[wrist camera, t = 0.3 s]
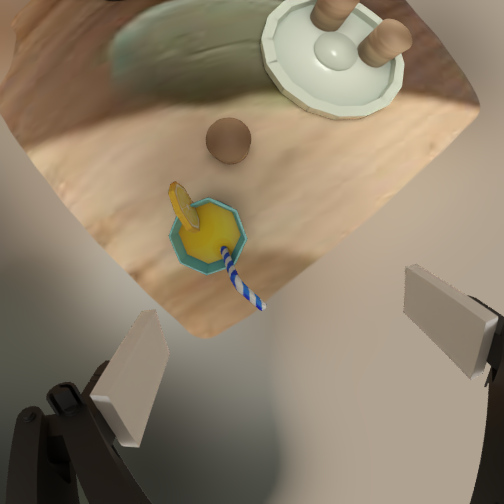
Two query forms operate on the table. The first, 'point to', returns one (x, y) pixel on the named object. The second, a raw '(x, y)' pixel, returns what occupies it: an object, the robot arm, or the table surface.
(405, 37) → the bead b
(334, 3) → the brown rounded cylinder
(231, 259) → the cup
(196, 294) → the table surface
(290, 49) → the tray
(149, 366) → the robot arm
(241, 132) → the brown stubby piece
